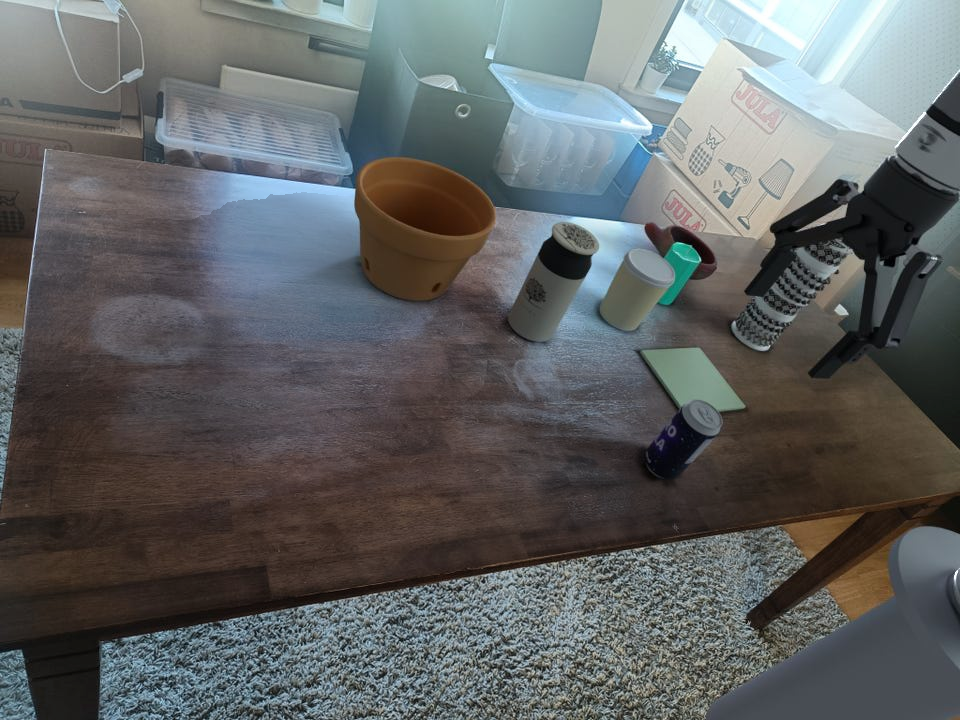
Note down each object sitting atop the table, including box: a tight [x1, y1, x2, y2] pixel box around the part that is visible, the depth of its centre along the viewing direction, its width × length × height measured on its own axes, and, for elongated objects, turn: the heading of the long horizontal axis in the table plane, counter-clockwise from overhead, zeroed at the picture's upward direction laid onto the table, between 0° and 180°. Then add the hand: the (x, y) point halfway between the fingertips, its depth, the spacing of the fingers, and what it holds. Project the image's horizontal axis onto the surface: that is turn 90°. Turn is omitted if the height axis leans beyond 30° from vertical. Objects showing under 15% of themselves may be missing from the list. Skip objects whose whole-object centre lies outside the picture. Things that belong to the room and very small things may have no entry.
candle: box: [657, 242, 701, 306], centre depth 120 cm, size 6×6×12 cm
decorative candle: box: [730, 223, 854, 352], centre depth 116 cm, size 9×9×25 cm
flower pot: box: [353, 156, 497, 302], centre depth 97 cm, size 21×21×15 cm
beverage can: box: [643, 399, 723, 481], centre depth 86 cm, size 6×6×12 cm
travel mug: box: [507, 221, 601, 343], centre depth 97 cm, size 8×8×18 cm
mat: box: [639, 347, 746, 413], centre depth 107 cm, size 14×14×1 cm
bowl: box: [644, 221, 718, 281], centre depth 130 cm, size 16×13×8 cm
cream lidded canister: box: [599, 248, 675, 332], centre depth 110 cm, size 9×9×12 cm
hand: (783, 332), depth 74 cm, fingers open, 13 cm apart
